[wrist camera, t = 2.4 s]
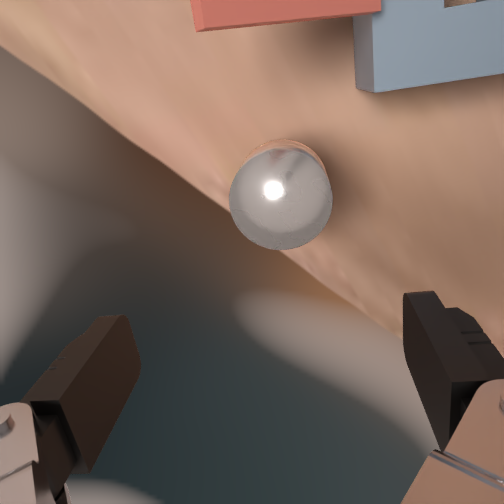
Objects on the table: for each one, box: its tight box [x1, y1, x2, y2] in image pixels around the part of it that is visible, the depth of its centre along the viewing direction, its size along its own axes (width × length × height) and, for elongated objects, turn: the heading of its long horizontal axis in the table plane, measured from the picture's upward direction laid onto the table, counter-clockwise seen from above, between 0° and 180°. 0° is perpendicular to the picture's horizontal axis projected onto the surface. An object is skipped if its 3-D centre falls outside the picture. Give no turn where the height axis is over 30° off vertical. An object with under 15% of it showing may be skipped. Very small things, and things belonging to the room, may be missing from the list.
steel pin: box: [229, 139, 333, 250], centre depth 29 cm, size 6×6×11 cm
